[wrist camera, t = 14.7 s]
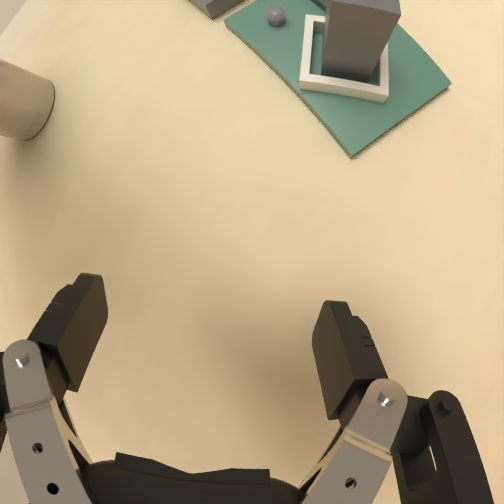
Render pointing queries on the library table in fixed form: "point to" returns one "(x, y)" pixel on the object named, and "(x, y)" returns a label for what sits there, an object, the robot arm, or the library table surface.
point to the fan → (214, 6)
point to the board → (336, 108)
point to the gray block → (356, 36)
